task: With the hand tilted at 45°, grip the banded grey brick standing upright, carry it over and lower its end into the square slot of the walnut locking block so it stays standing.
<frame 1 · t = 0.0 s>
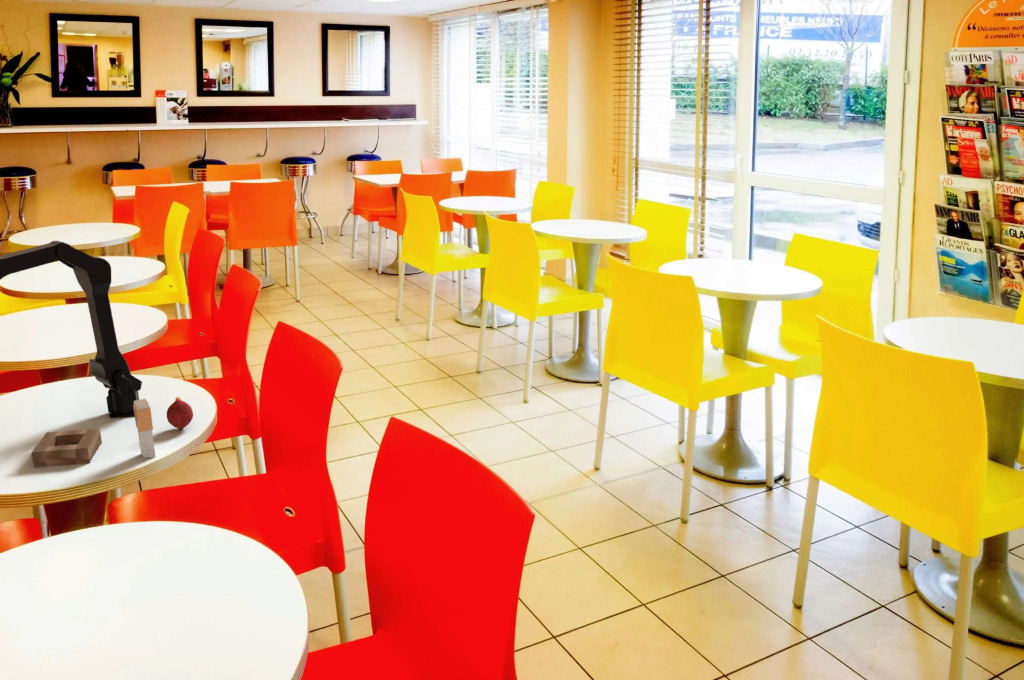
banded grey brick: (148, 455, 186), on the table
onion: (181, 430, 200), on the table
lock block: (69, 454, 187), on the table
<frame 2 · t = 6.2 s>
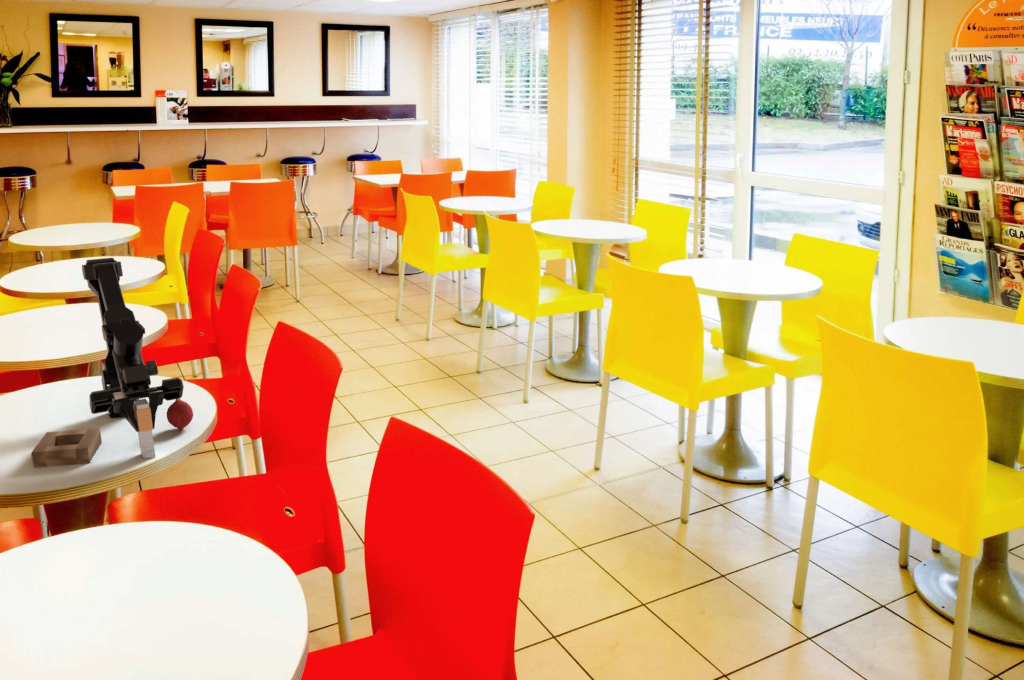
hand: (145, 429, 183), 7 cm above the table, tool tilted 45°, fingers closed on banded grey brick, 3 cm apart
banded grey brick: (148, 455, 186), on the table, touching gripper
everything else where it was.
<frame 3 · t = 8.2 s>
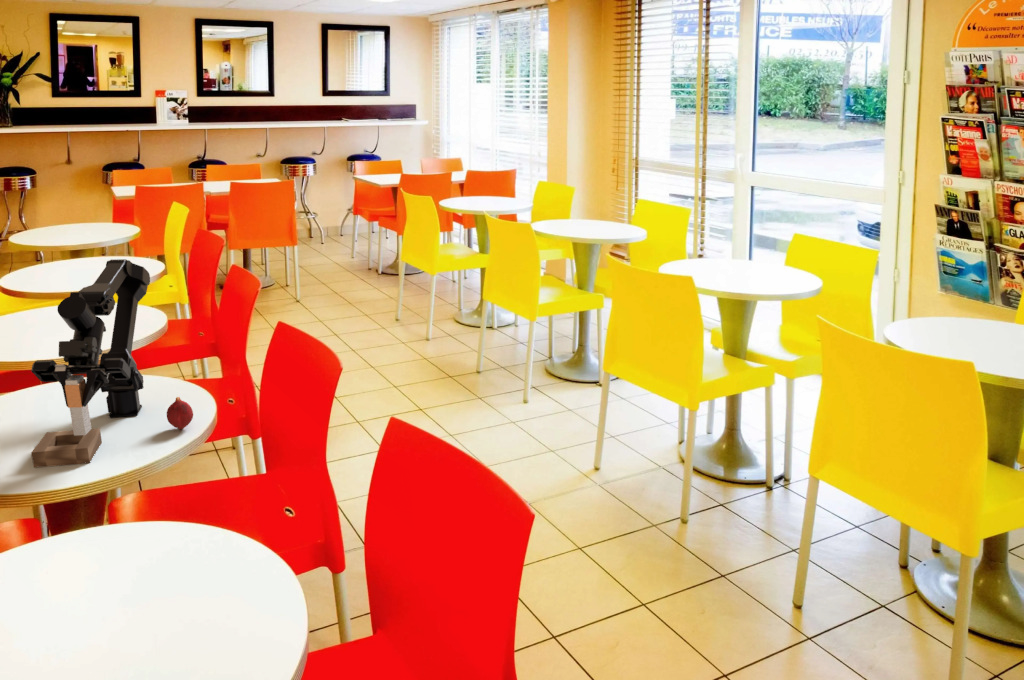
hand: (75, 406, 181), 12 cm above the table, tool tilted 45°, fingers closed on banded grey brick, 3 cm apart
banded grey brick: (82, 432, 184), point 6 cm above the table, touching gripper
everything else where it was.
when the fingers open (8 cm above the table, at t = 10.1 s): banded grey brick drops 1 cm, resting in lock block.
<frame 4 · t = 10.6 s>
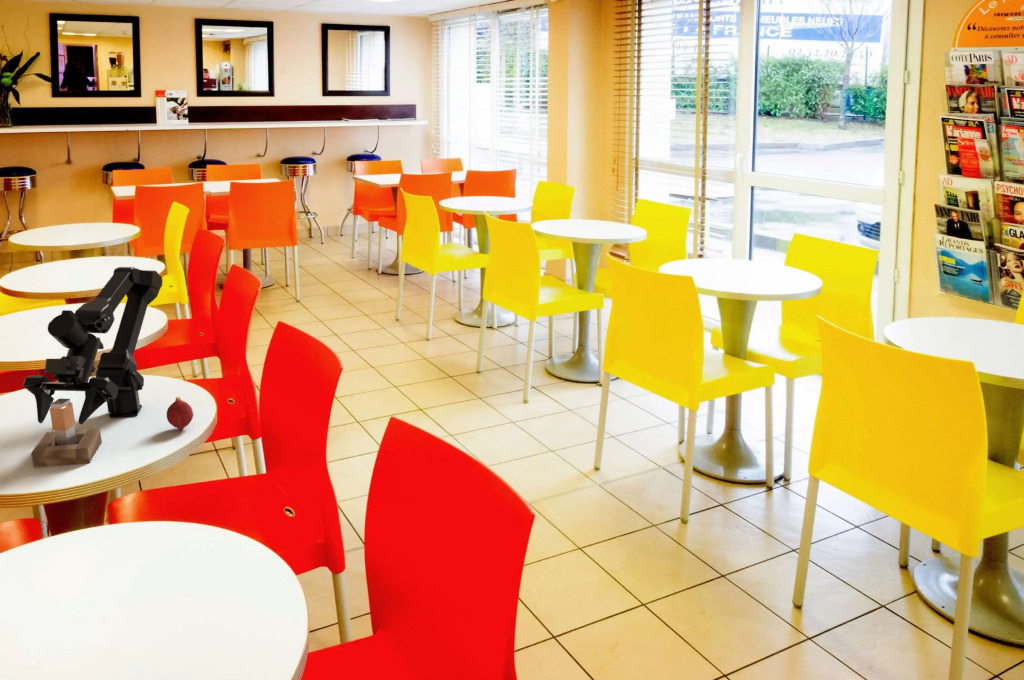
hand: (59, 423, 183), 8 cm above the table, tool tilted 45°, fingers open, 9 cm apart
banded grey brick: (68, 454, 186), resting in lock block
everything else where it was.
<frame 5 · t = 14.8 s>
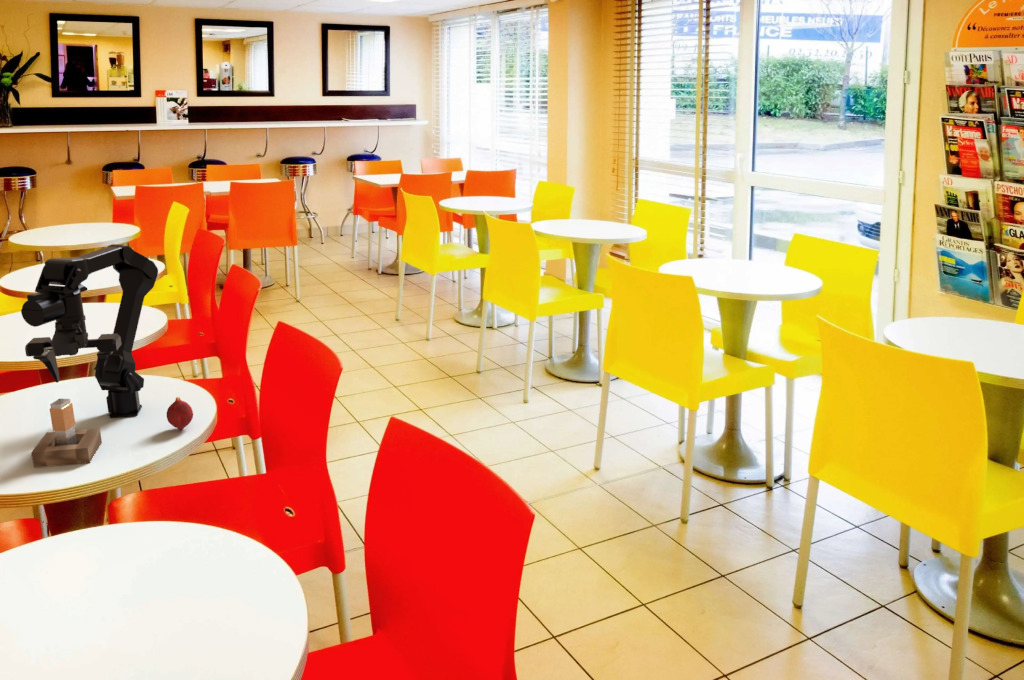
hand: (79, 380, 194), 13 cm above the table, tool pointing down, fingers open, 9 cm apart
nothing on the table moved.
at the end: banded grey brick 0.1 cm off-centre on the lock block, point 0.0 cm above the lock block's base; banded grey brick tilted 0°; the gripper is holding nothing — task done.
